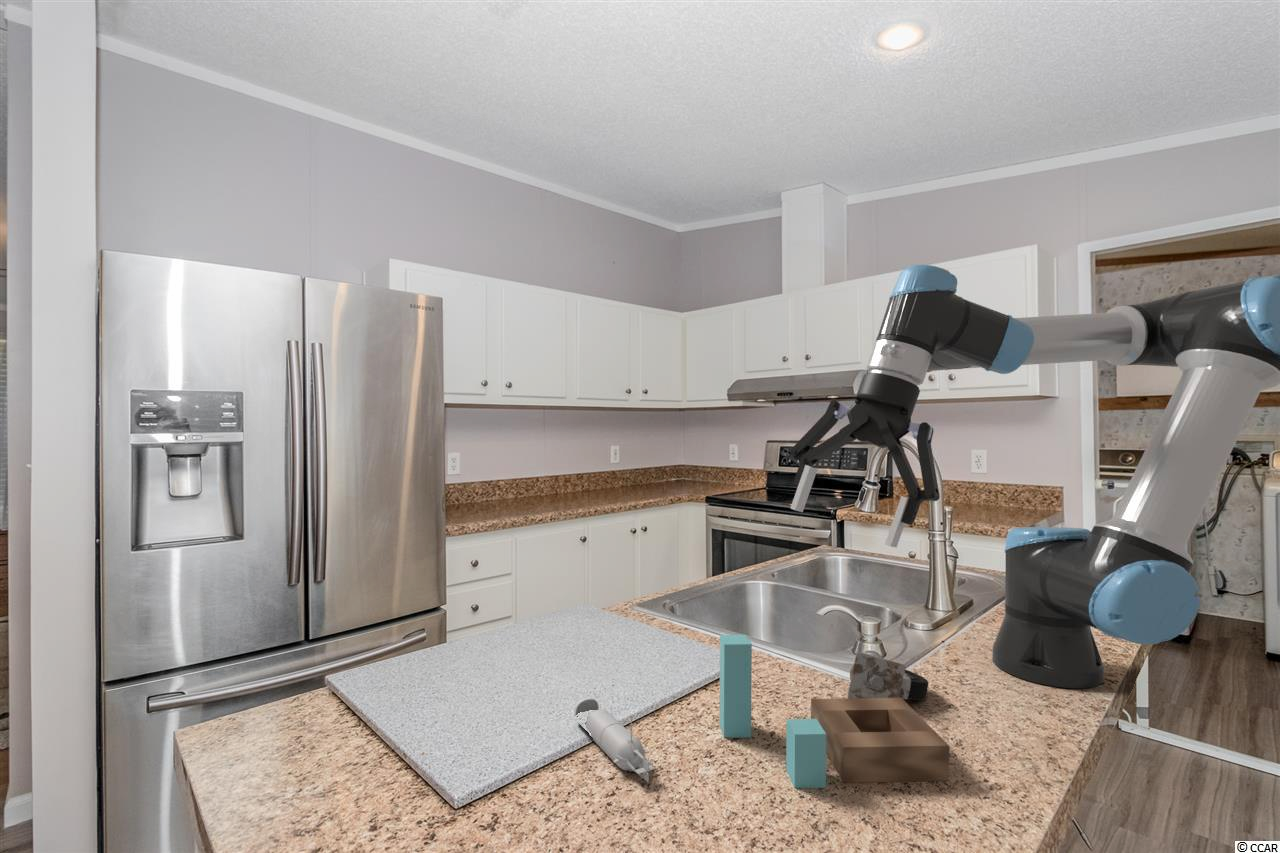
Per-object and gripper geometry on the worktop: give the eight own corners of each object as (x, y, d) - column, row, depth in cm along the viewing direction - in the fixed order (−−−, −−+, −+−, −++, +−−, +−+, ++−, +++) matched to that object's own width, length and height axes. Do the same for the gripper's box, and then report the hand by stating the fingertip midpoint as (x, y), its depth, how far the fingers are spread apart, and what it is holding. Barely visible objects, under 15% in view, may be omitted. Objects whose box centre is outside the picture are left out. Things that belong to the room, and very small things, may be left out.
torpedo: (565, 724, 85) (565, 676, 84) (597, 716, 87) (596, 668, 87) (629, 795, 69) (629, 735, 69) (666, 782, 71) (666, 725, 71)
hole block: (901, 727, 83) (901, 697, 83) (948, 780, 71) (949, 745, 71) (810, 729, 83) (811, 699, 83) (843, 782, 71) (843, 747, 71)
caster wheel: (915, 703, 96) (932, 725, 86) (839, 681, 98) (847, 699, 89) (924, 659, 96) (941, 676, 87) (848, 638, 99) (857, 652, 89)
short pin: (815, 769, 74) (816, 718, 73) (825, 787, 70) (826, 733, 70) (786, 770, 73) (786, 719, 73) (794, 788, 70) (794, 734, 70)
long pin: (745, 723, 84) (746, 634, 84) (751, 737, 81) (751, 644, 81) (719, 724, 84) (719, 634, 84) (723, 737, 81) (724, 644, 80)
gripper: (799, 354, 91) (750, 494, 90) (987, 392, 75) (928, 561, 75) (819, 369, 96) (773, 500, 96) (997, 407, 81) (942, 564, 81)
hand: (841, 527), depth 86 cm, fingers open, 13 cm apart
